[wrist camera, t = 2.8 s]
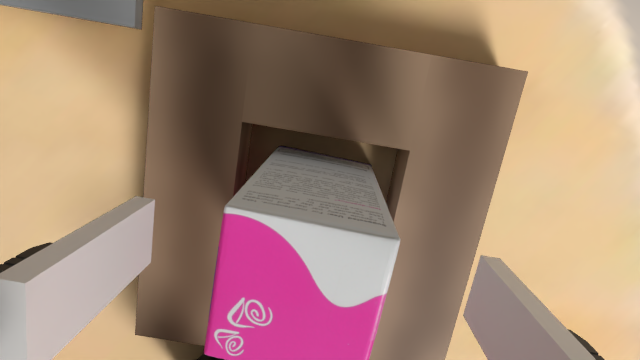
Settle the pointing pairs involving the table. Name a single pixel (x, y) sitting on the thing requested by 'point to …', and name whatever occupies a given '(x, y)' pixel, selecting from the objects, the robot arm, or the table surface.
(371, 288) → the supplement box
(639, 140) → the table surface
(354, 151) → the table surface
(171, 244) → the holder
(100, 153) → the table surface
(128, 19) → the mat
